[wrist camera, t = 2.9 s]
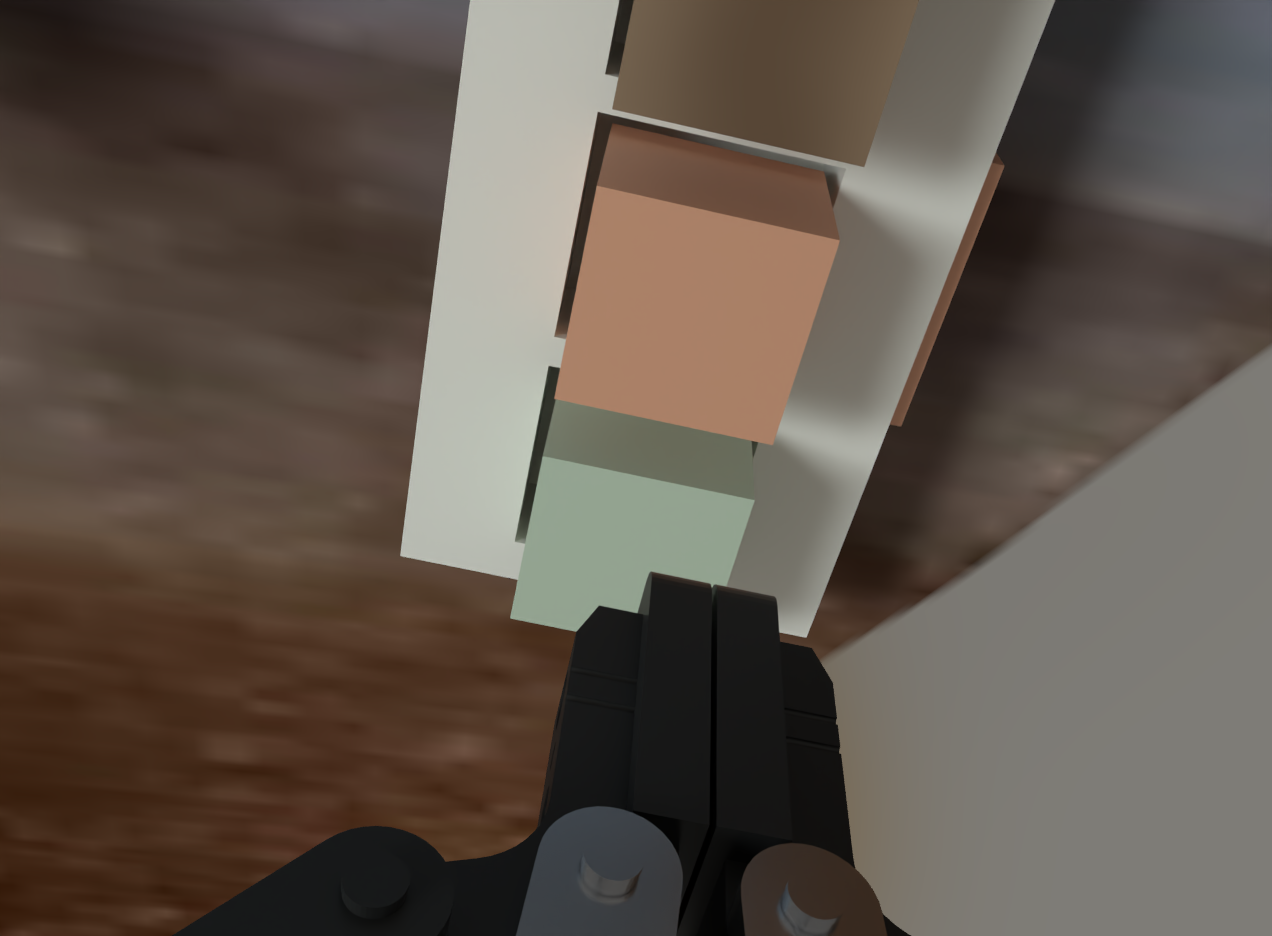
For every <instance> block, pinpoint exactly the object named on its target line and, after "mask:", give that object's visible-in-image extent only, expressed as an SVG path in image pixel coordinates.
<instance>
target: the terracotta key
mask: <svg viewBox="0 0 1272 936" xmlns="http://www.w3.org/2000/svg"><path fill="white" fill-rule="evenodd" d="M839 242H840V238H839V234H838V229H837V225H836V221H835V216H834V212H833V208H832V204H831V199H830V195H829V191H828V186H827V182H826V178H825V174H824V171H819V170H815V169H811V168H806V167H802V166H798V165H793V164H789V163H784V162H780V161H776V160H771V159H767V158H763V157H758V156H754V155H750V154H745V153H741V152H736V151H732V150H728V149H723V148H719V147H715V146H710V145H706V144H701V143H697V142H693V141H688V140H684V139H680V138H675V137H671V136H667V135H662V134H658V133H653V132H649V131H645V130H640V129H636V128H632V127H627V126H623V125H619V124H614V123H612V126H611V130H610V135H609V139H608V143H607V147H606V151H605V155H604V159H603V163H602V167H601V171H600V175H599V179H598V183H597V187H596V192H595V197H594V202H593V207H592V212H591V217H590V222H589V227H588V232H587V237H586V242H585V247H584V252H583V257H582V262H581V267H580V272H579V277H578V282H577V287H576V292H575V297H574V302H573V307H572V312H571V317H570V322H569V327H568V332H567V337H566V342H565V347H564V352H563V357H562V362H561V367H560V372H559V377H558V382H557V387H556V392H555V397H554V399H557V400H562V401H567V402H571V403H576V404H581V405H585V406H590V407H595V408H600V409H604V410H609V411H614V412H618V413H623V414H628V415H632V416H637V417H642V418H647V419H651V420H656V421H661V422H665V423H670V424H675V425H680V426H684V427H689V428H694V429H698V430H703V431H708V432H713V433H717V434H722V435H727V436H731V437H736V438H741V439H746V440H750V441H755V442H760V443H764V444H769V445H773V443H774V440H775V437H776V434H777V431H778V428H779V425H780V422H781V419H782V416H783V413H784V410H785V407H786V404H787V400H788V397H789V394H790V391H791V388H792V385H793V382H794V379H795V376H796V373H797V370H798V367H799V364H800V361H801V358H802V355H803V352H804V349H805V346H806V343H807V340H808V337H809V334H810V331H811V328H812V325H813V321H814V318H815V315H816V312H817V309H818V306H819V303H820V300H821V297H822V294H823V291H824V288H825V285H826V282H827V279H828V276H829V273H830V270H831V267H832V264H833V261H834V258H835V255H836V252H837V249H838V245H839Z"/></svg>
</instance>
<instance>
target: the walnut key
mask: <svg viewBox="0 0 1272 936" xmlns="http://www.w3.org/2000/svg"><path fill="white" fill-rule="evenodd" d="M918 2H919V0H634V2H633V7H632V12H631V17H630V22H629V27H628V32H627V37H626V42H625V47H624V52H623V57H622V62H621V67H620V72H619V77H618V82H617V87H616V92H615V97H614V102H613V107H612V109H613V110H618V111H622V112H626V113H631V114H635V115H639V116H644V117H648V118H652V119H657V120H661V121H665V122H670V123H674V124H679V125H683V126H687V127H692V128H696V129H700V130H705V131H709V132H713V133H718V134H722V135H726V136H731V137H735V138H739V139H744V140H748V141H752V142H757V143H761V144H766V145H770V146H774V147H779V148H783V149H787V150H792V151H796V152H800V153H805V154H809V155H813V156H818V157H822V158H826V159H831V160H835V161H840V162H844V163H848V164H853V165H857V166H861V167H864V166H865V163H866V160H867V157H868V154H869V151H870V148H871V145H872V142H873V139H874V136H875V133H876V130H877V127H878V124H879V121H880V118H881V115H882V112H883V109H884V106H885V103H886V100H887V97H888V93H889V90H890V87H891V84H892V81H893V78H894V75H895V72H896V69H897V66H898V63H899V60H900V57H901V54H902V51H903V48H904V45H905V42H906V39H907V36H908V33H909V30H910V27H911V24H912V21H913V17H914V14H915V11H916V8H917V5H918Z"/></svg>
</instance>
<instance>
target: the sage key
mask: <svg viewBox="0 0 1272 936" xmlns="http://www.w3.org/2000/svg"><path fill="white" fill-rule="evenodd" d="M754 501H755V497H754V476H753V456H752V441H750V440H746V439H741V438H736V437H731V436H727V435H722V434H717V433H713V432H708V431H703V430H698V429H694V428H689V427H684V426H680V425H675V424H670V423H665V422H661V421H656V420H651V419H647V418H642V417H637V416H632V415H628V414H623V413H618V412H614V411H609V410H604V409H600V408H595V407H590V406H585V405H581V404H576V403H571V402H567V401H562V400H557V399H556V401H555V405H554V409H553V414H552V418H551V422H550V427H549V431H548V435H547V440H546V444H545V448H544V453H543V457H542V462H541V467H540V472H539V477H538V482H537V487H536V492H535V497H534V502H533V507H532V512H531V517H530V522H529V527H528V532H527V537H526V542H525V547H524V552H523V557H522V562H521V567H520V572H519V577H518V582H517V587H516V592H515V597H514V602H513V607H512V612H511V617H510V618H511V619H516V620H521V621H526V622H531V623H536V624H541V625H546V626H551V627H556V628H561V629H566V630H571V631H576V632H577V631H578V629H579V628H580V627H581V626H582V625H583V624H584V622H585V621H586V620H587V619H588V618H589V617H590V615H591V614H592V613H593V612H594V611H595V610H596V608H597V607H598V606H604V607H609V608H614V609H619V610H624V611H629V612H634V613H638V609H639V606H640V602H641V598H642V595H643V591H644V587H645V584H646V581H647V578H648V575H649V573H650V572H651V571H652V572H656V573H661V574H666V575H671V576H676V577H681V578H686V579H691V580H696V581H701V582H705V583H710V584H711V587H713V585H715V584H717V585H721V586H727V583H728V580H729V577H730V574H731V571H732V568H733V565H734V562H735V559H736V556H737V552H738V549H739V546H740V543H741V540H742V537H743V534H744V531H745V528H746V525H747V522H748V519H749V516H750V513H751V510H752V507H753V504H754Z"/></svg>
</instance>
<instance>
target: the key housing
mask: <svg viewBox="0 0 1272 936" xmlns="http://www.w3.org/2000/svg"><path fill="white" fill-rule="evenodd" d="M633 2H634V0H470V6H469V14H468V22H467V30H466V38H465V46H464V54H463V62H462V70H461V78H460V86H459V94H458V102H457V110H456V118H455V126H454V133H453V141H452V149H451V157H450V165H449V173H448V181H447V189H446V197H445V205H444V213H443V221H442V229H441V237H440V245H439V253H438V261H437V268H436V276H435V284H434V292H433V300H432V308H431V316H430V324H429V332H428V340H427V348H426V356H425V364H424V372H423V380H422V388H421V396H420V403H419V411H418V419H417V427H416V435H415V443H414V451H413V459H412V467H411V475H410V483H409V491H408V499H407V507H406V515H405V523H404V531H403V538H402V546H401V554H400V556H403V557H408V558H413V559H418V560H423V561H428V562H433V563H438V564H443V565H448V566H453V567H458V568H463V569H468V570H473V571H478V572H483V573H488V574H493V575H498V576H503V577H507V578H512V579H517V580H518V577H519V572H520V567H521V562H522V557H523V552H524V547H525V542H526V537H527V532H528V527H529V522H530V517H531V512H532V507H533V502H534V497H535V492H536V487H537V482H538V477H539V472H540V467H541V462H542V457H543V453H544V448H545V444H546V440H547V435H548V431H549V427H550V422H551V418H552V414H553V409H554V405H555V401H556V399H554V397H555V392H556V387H557V382H558V377H559V372H560V367H561V362H562V357H563V352H564V347H565V342H566V337H567V332H568V327H569V322H570V317H571V312H572V307H573V302H574V297H575V292H576V287H577V282H578V277H579V272H580V267H581V262H582V257H583V252H584V247H585V242H586V237H587V232H588V227H589V222H590V217H591V212H592V207H593V202H594V197H595V192H596V187H597V183H598V179H599V175H600V171H601V167H602V163H603V159H604V155H605V151H606V147H607V143H608V139H609V135H610V130H611V126H612V123H614V124H619V125H623V126H627V127H632V128H636V129H640V130H645V131H649V132H653V133H658V134H662V135H667V136H671V137H675V138H680V139H684V140H688V141H693V142H697V143H701V144H706V145H710V146H715V147H719V148H723V149H728V150H732V151H736V152H741V153H745V154H750V155H754V156H758V157H763V158H767V159H771V160H776V161H780V162H784V163H789V164H793V165H798V166H802V167H806V168H811V169H815V170H819V171H824V174H825V178H826V182H827V186H828V191H829V195H830V199H831V204H832V208H833V212H834V216H835V221H836V225H837V229H838V234H839V238H840V242H839V245H838V249H837V252H836V255H835V258H834V261H833V264H832V267H831V270H830V273H829V276H828V279H827V282H826V285H825V288H824V291H823V294H822V297H821V300H820V303H819V306H818V309H817V312H816V315H815V318H814V321H813V325H812V328H811V331H810V334H809V337H808V340H807V343H806V346H805V349H804V352H803V355H802V358H801V361H800V364H799V367H798V370H797V373H796V376H795V379H794V382H793V385H792V388H791V391H790V394H789V397H788V400H787V404H786V407H785V410H784V413H783V416H782V419H781V422H780V425H779V428H778V431H777V434H776V437H775V440H774V443H773V445H769V444H764V443H760V442H755V441H752V456H753V476H754V497H755V501H754V504H753V507H752V510H751V513H750V516H749V519H748V522H747V525H746V528H745V531H744V534H743V537H742V540H741V543H740V546H739V549H738V552H737V556H736V559H735V562H734V565H733V568H732V571H731V574H730V577H729V580H728V583H727V586H726V587H731V588H736V589H741V590H746V591H751V592H756V593H761V594H765V595H770V596H774V597H775V598H776V600H777V606H778V621H779V632H781V633H786V634H791V635H796V636H801V637H807V635H808V632H809V629H810V627H811V624H812V622H813V619H814V617H815V614H816V612H817V609H818V606H819V604H820V601H821V599H822V596H823V594H824V591H825V588H826V586H827V583H828V581H829V578H830V576H831V573H832V571H833V568H834V565H835V563H836V560H837V558H838V555H839V553H840V550H841V548H842V545H843V542H844V540H845V537H846V535H847V532H848V530H849V527H850V524H851V522H852V519H853V517H854V514H855V512H856V509H857V507H858V504H859V501H860V499H861V496H862V494H863V491H864V489H865V486H866V483H867V481H868V478H869V476H870V473H871V471H872V468H873V466H874V463H875V460H876V458H877V455H878V453H879V450H880V448H881V445H882V443H883V440H884V437H885V435H886V432H887V430H888V427H889V425H895V426H900V427H901V426H902V423H903V420H904V418H905V415H906V413H907V410H908V408H909V405H910V403H911V400H912V398H913V395H914V393H915V390H916V388H917V385H918V383H919V380H920V378H921V375H922V373H923V370H924V368H925V365H926V363H927V360H928V358H929V355H930V353H931V350H932V348H933V345H934V342H935V340H936V337H937V335H938V332H939V330H940V327H941V325H942V322H943V320H944V317H945V315H946V312H947V310H948V307H949V305H950V302H951V300H952V297H953V295H954V292H955V290H956V287H957V285H958V282H959V280H960V277H961V275H962V272H963V270H964V267H965V264H966V262H967V259H968V257H969V254H970V252H971V249H972V247H973V244H974V242H975V239H976V237H977V234H978V232H979V229H980V227H981V224H982V222H983V219H984V217H985V214H986V212H987V209H988V207H989V204H990V202H991V199H992V197H993V194H994V192H995V189H996V186H997V184H998V181H999V179H1000V176H1001V174H1002V171H1003V169H1004V164H1003V162H1002V161H1001V159H1000V158H999V156H998V154H997V153H996V151H997V148H998V145H999V143H1000V140H1001V138H1002V135H1003V133H1004V130H1005V128H1006V125H1007V122H1008V120H1009V117H1010V115H1011V112H1012V110H1013V107H1014V105H1015V102H1016V99H1017V97H1018V94H1019V92H1020V89H1021V87H1022V84H1023V81H1024V79H1025V76H1026V74H1027V71H1028V69H1029V66H1030V64H1031V61H1032V58H1033V56H1034V53H1035V51H1036V48H1037V46H1038V43H1039V40H1040V38H1041V35H1042V33H1043V30H1044V28H1045V25H1046V23H1047V20H1048V17H1049V15H1050V12H1051V10H1052V7H1053V5H1054V2H1055V0H919V2H918V5H917V8H916V11H915V14H914V17H913V21H912V24H911V27H910V30H909V33H908V36H907V39H906V42H905V45H904V48H903V51H902V54H901V57H900V60H899V63H898V66H897V69H896V72H895V75H894V78H893V81H892V84H891V87H890V90H889V93H888V97H887V100H886V103H885V106H884V109H883V112H882V115H881V118H880V121H879V124H878V127H877V130H876V133H875V136H874V139H873V142H872V145H871V148H870V151H869V154H868V157H867V160H866V163H865V166H864V167H861V166H857V165H853V164H848V163H844V162H840V161H835V160H831V159H826V158H822V157H818V156H813V155H809V154H805V153H800V152H796V151H792V150H787V149H783V148H779V147H774V146H770V145H766V144H761V143H757V142H752V141H748V140H744V139H739V138H735V137H731V136H726V135H722V134H718V133H713V132H709V131H705V130H700V129H696V128H692V127H687V126H683V125H679V124H674V123H670V122H665V121H661V120H657V119H652V118H648V117H644V116H639V115H635V114H631V113H626V112H622V111H618V110H613V109H612V107H613V102H614V97H615V92H616V87H617V82H618V77H619V72H620V67H621V62H622V57H623V52H624V47H625V42H626V37H627V32H628V27H629V22H630V17H631V12H632V7H633Z"/></svg>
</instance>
